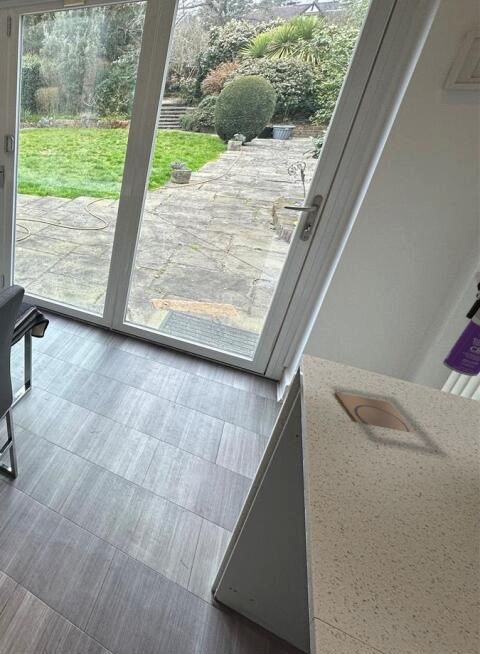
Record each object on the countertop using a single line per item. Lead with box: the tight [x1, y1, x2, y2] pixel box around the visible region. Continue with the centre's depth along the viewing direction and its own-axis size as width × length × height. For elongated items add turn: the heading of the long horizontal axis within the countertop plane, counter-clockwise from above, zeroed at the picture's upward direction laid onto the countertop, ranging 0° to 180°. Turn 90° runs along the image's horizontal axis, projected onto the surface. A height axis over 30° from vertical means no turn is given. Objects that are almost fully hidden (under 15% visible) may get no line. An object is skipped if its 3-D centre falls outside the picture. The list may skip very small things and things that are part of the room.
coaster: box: [334, 391, 417, 435], centre depth 84 cm, size 10×14×1 cm
